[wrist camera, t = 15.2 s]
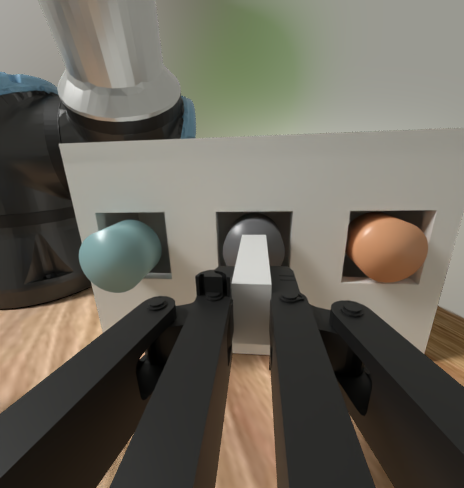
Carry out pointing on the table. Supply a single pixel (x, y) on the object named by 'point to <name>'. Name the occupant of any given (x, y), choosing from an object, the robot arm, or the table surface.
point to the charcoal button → (254, 226)
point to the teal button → (120, 255)
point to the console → (278, 210)
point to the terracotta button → (385, 246)
